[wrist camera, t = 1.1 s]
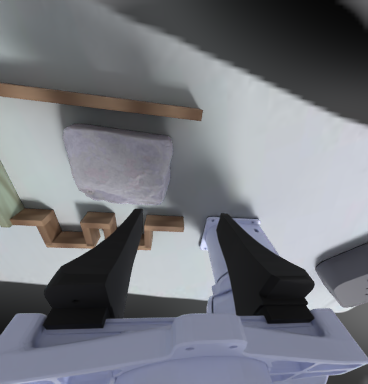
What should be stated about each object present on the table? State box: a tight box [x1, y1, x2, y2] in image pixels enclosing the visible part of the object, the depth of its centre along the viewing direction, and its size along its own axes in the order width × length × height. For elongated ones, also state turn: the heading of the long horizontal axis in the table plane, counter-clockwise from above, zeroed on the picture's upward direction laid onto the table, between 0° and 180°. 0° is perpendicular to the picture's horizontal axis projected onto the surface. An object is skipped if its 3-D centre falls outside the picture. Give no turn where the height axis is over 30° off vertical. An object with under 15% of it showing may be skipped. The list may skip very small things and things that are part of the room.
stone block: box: [63, 124, 173, 205], centre depth 20 cm, size 12×5×10 cm
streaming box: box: [316, 243, 368, 307], centre depth 35 cm, size 14×14×5 cm
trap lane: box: [0, 83, 203, 250], centre depth 20 cm, size 25×22×3 cm
